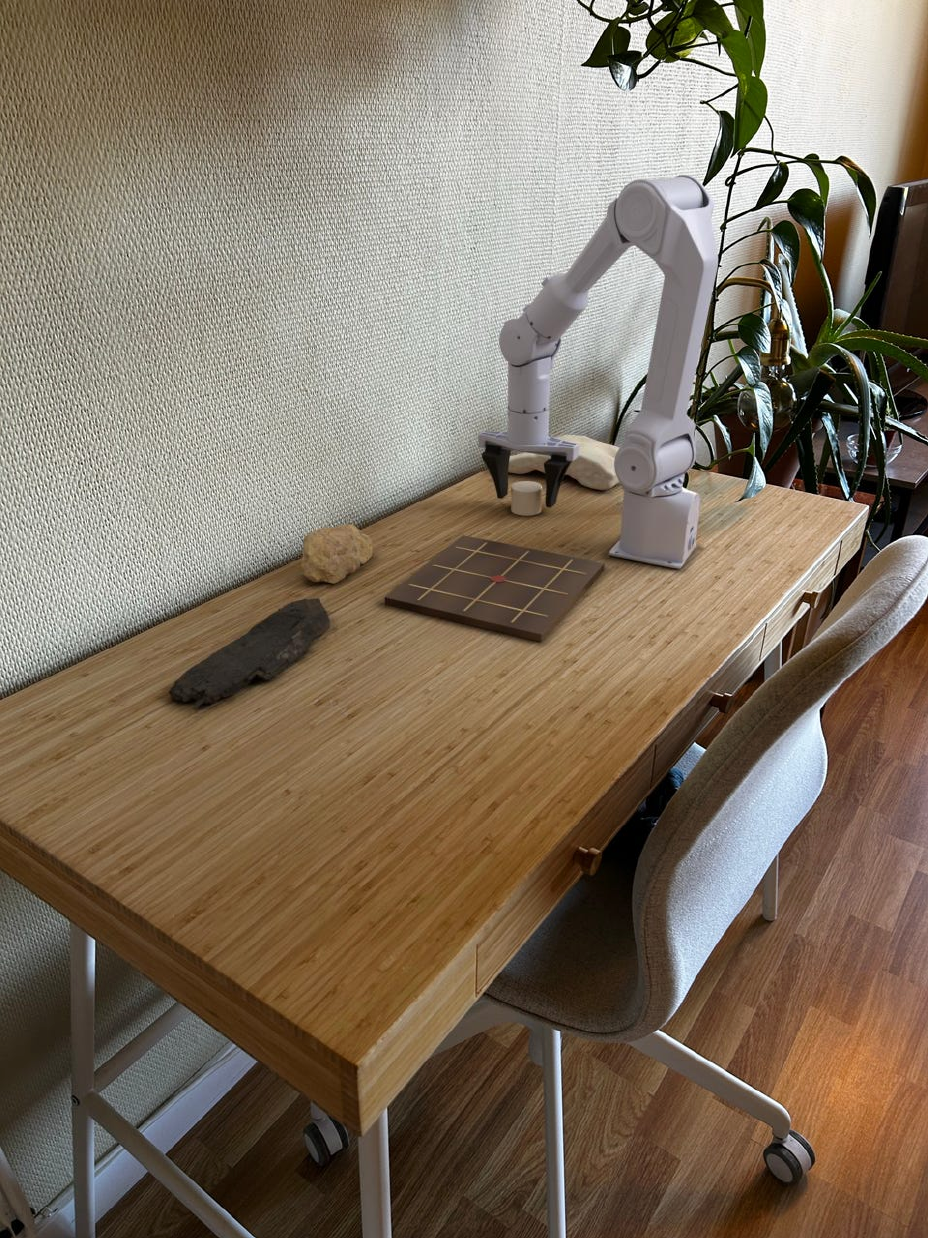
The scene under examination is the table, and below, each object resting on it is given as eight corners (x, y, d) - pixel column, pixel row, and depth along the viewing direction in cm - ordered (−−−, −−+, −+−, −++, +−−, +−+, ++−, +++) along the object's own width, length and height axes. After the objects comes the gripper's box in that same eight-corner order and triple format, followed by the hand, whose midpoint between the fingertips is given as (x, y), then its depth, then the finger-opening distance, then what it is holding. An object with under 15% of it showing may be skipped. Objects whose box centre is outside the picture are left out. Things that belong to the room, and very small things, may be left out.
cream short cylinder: (546, 507, 133) (546, 483, 131) (534, 517, 130) (534, 493, 128) (518, 502, 135) (519, 479, 133) (506, 512, 132) (506, 488, 130)
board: (604, 570, 115) (604, 562, 114) (541, 642, 99) (541, 633, 99) (463, 541, 123) (463, 534, 122) (384, 604, 107) (384, 596, 107)
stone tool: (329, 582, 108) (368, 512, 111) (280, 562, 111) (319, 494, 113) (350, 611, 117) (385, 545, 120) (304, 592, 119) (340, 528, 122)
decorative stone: (650, 438, 146) (615, 461, 135) (647, 469, 148) (612, 494, 137) (531, 420, 156) (488, 440, 144) (530, 450, 158) (487, 471, 147)
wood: (219, 722, 87) (214, 695, 85) (163, 700, 90) (158, 674, 89) (357, 623, 104) (355, 599, 102) (306, 608, 107) (303, 585, 105)
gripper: (588, 406, 125) (583, 499, 132) (493, 394, 131) (493, 483, 138) (569, 420, 120) (565, 516, 126) (471, 406, 126) (472, 499, 132)
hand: (526, 500), depth 132 cm, fingers open, 7 cm apart
